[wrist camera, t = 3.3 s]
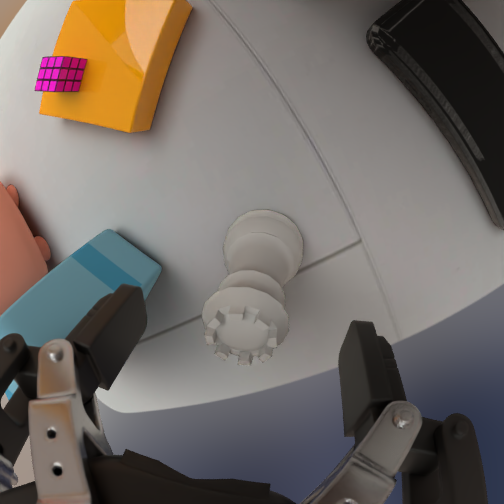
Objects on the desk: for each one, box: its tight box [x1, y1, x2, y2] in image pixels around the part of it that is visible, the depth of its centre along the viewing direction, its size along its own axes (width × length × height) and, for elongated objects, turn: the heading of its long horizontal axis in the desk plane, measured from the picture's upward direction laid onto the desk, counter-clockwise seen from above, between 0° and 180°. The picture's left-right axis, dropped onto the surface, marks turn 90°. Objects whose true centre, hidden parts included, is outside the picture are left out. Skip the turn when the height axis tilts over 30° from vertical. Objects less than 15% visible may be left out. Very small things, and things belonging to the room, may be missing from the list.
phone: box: [366, 0, 504, 230], centre depth 10 cm, size 8×1×15 cm
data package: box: [0, 229, 162, 400], centre depth 15 cm, size 12×4×12 cm, turn 145°
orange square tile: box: [35, 0, 193, 133], centre depth 10 cm, size 8×8×4 cm
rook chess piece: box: [201, 210, 303, 366], centre depth 13 cm, size 4×4×8 cm
